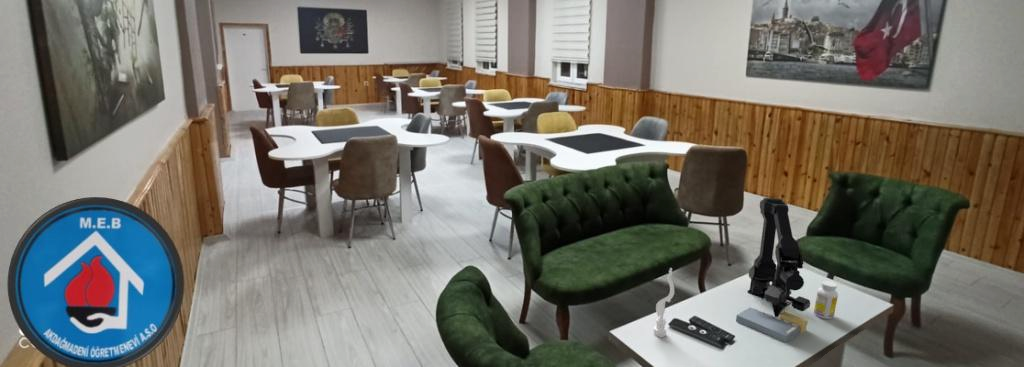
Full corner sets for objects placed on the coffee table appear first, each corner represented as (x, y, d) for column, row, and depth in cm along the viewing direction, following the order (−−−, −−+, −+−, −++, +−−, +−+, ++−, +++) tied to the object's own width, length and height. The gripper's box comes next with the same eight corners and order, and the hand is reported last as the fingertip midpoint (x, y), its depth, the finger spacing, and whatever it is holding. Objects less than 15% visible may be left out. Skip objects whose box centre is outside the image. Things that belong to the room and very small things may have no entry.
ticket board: (735, 320, 202) (736, 314, 201) (749, 312, 208) (750, 306, 208) (785, 342, 189) (786, 335, 188) (798, 333, 195) (799, 326, 195)
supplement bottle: (831, 313, 210) (838, 281, 207) (835, 321, 204) (841, 289, 201) (811, 309, 213) (817, 278, 209) (814, 317, 206) (821, 286, 203)
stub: (778, 324, 201) (780, 313, 200) (783, 320, 203) (785, 310, 202) (801, 333, 195) (802, 323, 194) (805, 329, 198) (807, 319, 197)
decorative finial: (650, 332, 192) (657, 265, 186) (657, 328, 195) (665, 262, 188) (664, 339, 188) (672, 271, 181) (671, 336, 190) (680, 268, 184)
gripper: (747, 274, 201) (741, 313, 205) (800, 293, 187) (792, 335, 191) (762, 267, 208) (756, 305, 212) (814, 285, 194) (806, 325, 198)
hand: (776, 317), depth 203 cm, fingers closed
